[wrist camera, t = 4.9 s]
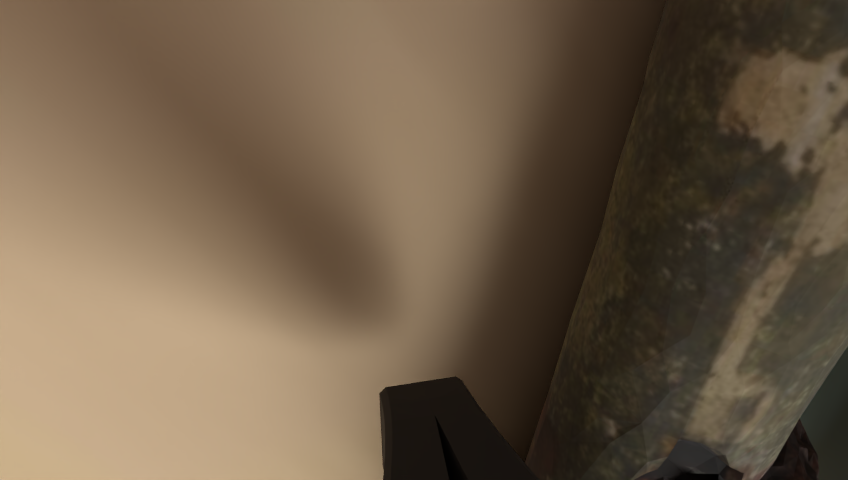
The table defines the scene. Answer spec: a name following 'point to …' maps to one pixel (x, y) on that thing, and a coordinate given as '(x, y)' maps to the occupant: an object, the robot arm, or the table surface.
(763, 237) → the metal pipe
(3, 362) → the table surface
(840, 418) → the dock
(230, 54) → the table surface
